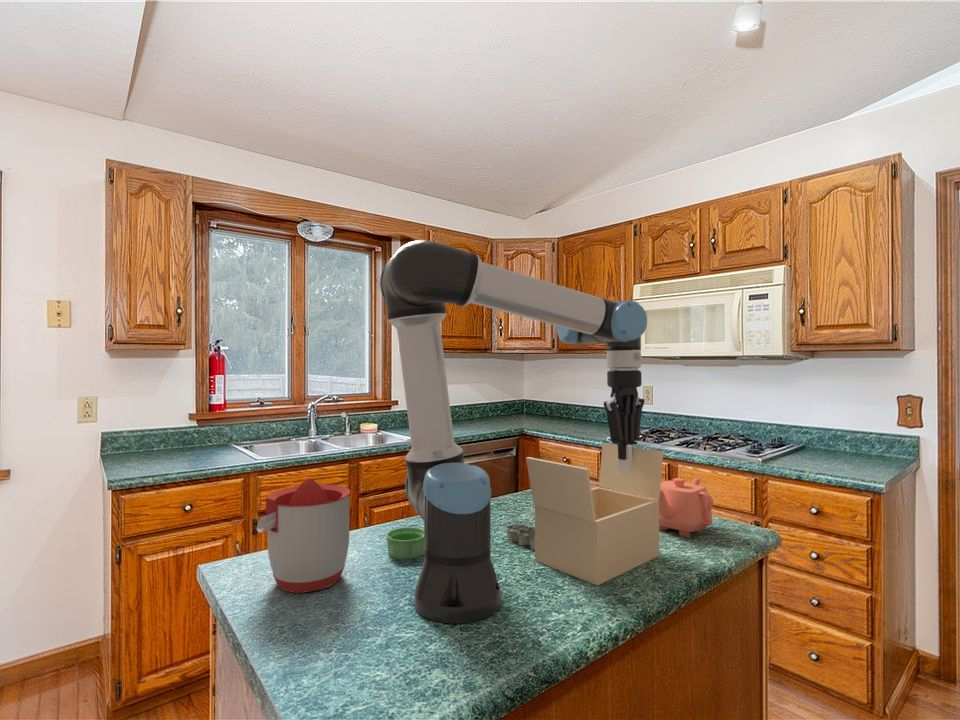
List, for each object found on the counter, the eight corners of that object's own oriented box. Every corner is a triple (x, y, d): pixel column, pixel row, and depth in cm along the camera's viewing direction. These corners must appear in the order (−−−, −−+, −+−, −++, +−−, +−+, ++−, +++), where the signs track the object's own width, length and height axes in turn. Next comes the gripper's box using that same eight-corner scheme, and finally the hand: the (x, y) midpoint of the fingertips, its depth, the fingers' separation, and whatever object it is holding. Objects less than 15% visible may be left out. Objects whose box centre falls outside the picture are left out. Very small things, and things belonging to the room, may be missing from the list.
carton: (597, 585, 97) (596, 521, 97) (535, 560, 109) (534, 504, 109) (659, 556, 111) (658, 500, 111) (598, 536, 123) (597, 486, 123)
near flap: (595, 520, 97) (593, 522, 97) (535, 503, 109) (533, 504, 108) (588, 468, 96) (586, 469, 95) (527, 456, 107) (525, 457, 107)
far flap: (661, 451, 112) (663, 451, 113) (602, 442, 124) (604, 442, 125) (658, 499, 111) (659, 499, 112) (598, 486, 123) (600, 486, 124)
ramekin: (425, 560, 110) (424, 540, 110) (382, 561, 109) (382, 540, 109) (428, 545, 119) (428, 526, 119) (389, 545, 118) (389, 526, 118)
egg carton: (557, 544, 119) (557, 527, 119) (535, 552, 114) (535, 534, 114) (523, 532, 127) (523, 516, 127) (501, 540, 122) (501, 523, 122)
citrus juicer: (245, 581, 99) (245, 478, 99) (331, 558, 111) (330, 466, 111) (272, 611, 87) (271, 494, 87) (365, 582, 99) (364, 478, 99)
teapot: (654, 539, 122) (654, 485, 122) (642, 517, 138) (642, 470, 138) (721, 542, 120) (721, 487, 120) (700, 519, 136) (700, 472, 136)
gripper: (621, 370, 110) (623, 480, 110) (654, 368, 118) (656, 471, 118) (592, 370, 115) (594, 475, 115) (626, 368, 124) (627, 466, 124)
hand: (625, 473), depth 117 cm, fingers closed
